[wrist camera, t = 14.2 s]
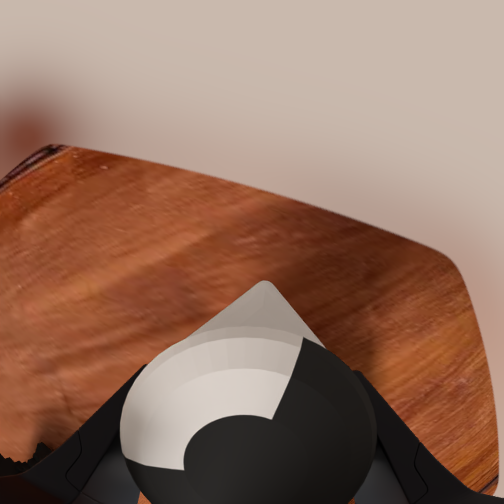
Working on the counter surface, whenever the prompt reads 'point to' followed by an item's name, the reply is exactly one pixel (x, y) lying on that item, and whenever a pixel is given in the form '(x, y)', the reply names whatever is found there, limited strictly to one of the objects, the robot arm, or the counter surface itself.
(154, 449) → the medicine bottle
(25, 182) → the counter surface
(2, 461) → the security camera
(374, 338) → the counter surface
